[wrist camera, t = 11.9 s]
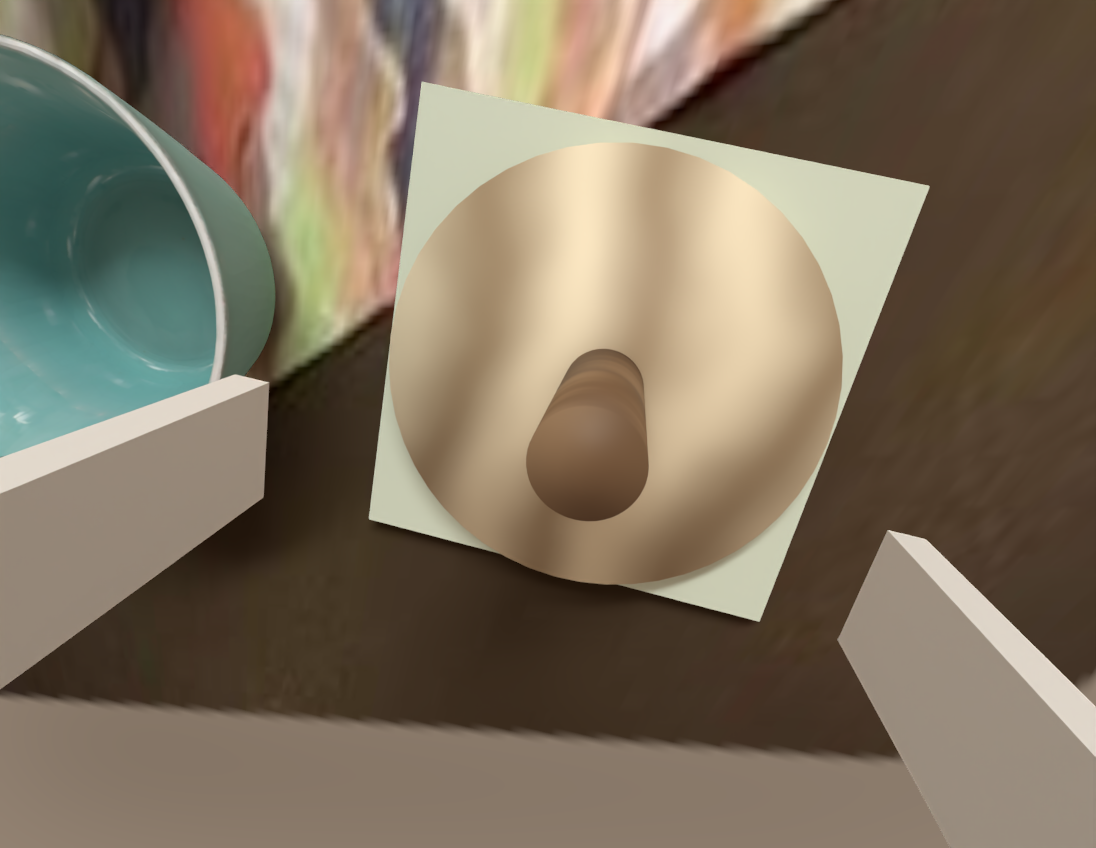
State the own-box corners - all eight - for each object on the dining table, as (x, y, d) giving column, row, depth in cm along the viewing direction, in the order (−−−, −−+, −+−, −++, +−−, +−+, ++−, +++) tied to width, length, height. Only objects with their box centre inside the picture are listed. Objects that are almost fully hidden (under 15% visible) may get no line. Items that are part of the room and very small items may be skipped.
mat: (375, 512, 30) (368, 519, 29) (428, 86, 24) (421, 81, 23) (755, 611, 29) (759, 621, 28) (919, 188, 22) (929, 186, 22)
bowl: (401, 258, 26) (302, 264, 18) (234, 487, 31) (100, 569, 23) (118, 7, 25) (-120, -102, 17) (-10, 289, 30) (-241, 305, 22)
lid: (375, 513, 29) (249, 645, 20) (433, 100, 23) (290, -2, 14) (746, 615, 28) (804, 809, 18) (909, 207, 22) (1125, 178, 12)
